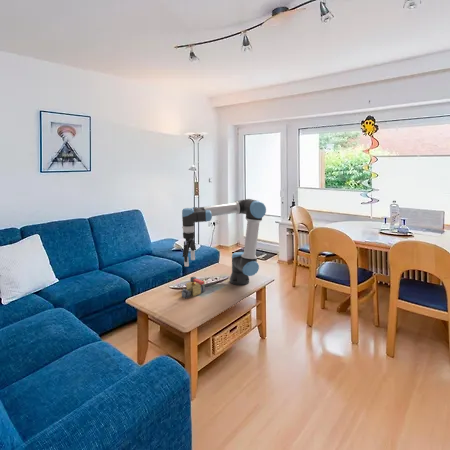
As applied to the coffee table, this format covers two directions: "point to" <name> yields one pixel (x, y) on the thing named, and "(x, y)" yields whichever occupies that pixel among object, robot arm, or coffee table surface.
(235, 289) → the coffee table surface
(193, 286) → the valve
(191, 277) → the lever
